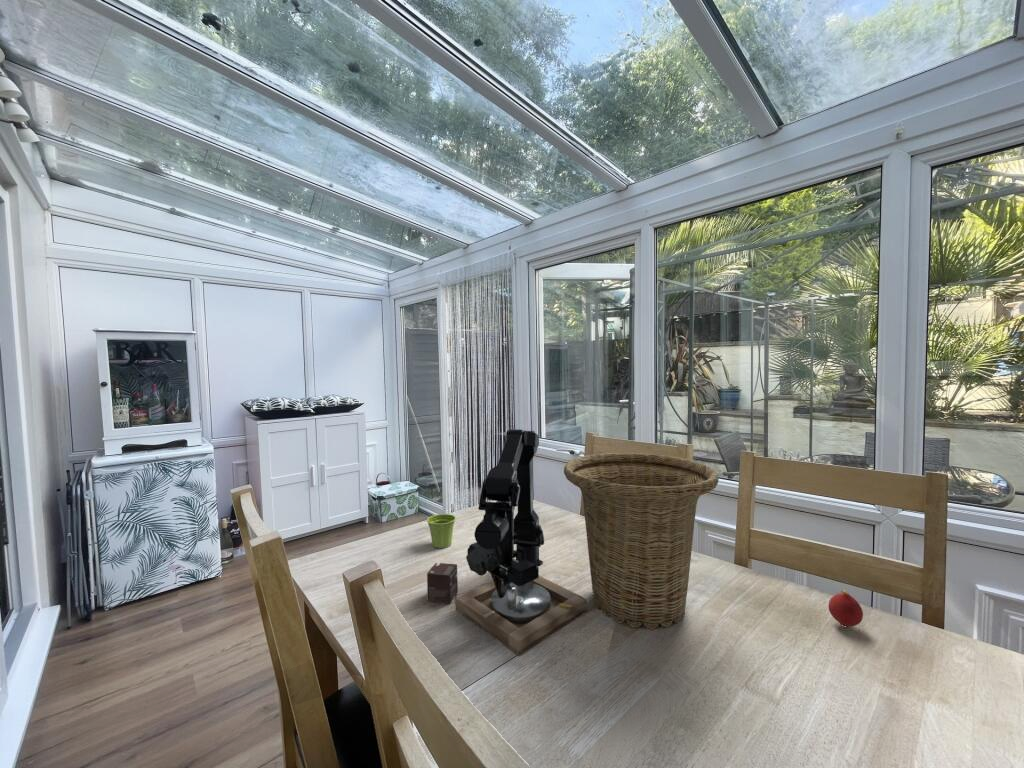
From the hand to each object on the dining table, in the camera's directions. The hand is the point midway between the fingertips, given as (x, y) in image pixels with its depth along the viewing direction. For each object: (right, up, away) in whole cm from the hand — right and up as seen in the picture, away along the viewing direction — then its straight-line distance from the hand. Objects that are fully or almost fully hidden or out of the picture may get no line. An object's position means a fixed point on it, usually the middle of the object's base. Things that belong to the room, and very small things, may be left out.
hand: (501, 597), depth 95 cm
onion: (+75, -4, -4) cm, 75 cm away
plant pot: (-21, -4, +42) cm, 46 cm away
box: (-15, -5, +10) cm, 19 cm away
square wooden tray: (+4, -5, +3) cm, 8 cm away
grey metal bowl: (+4, -4, +3) cm, 7 cm away
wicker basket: (+33, -5, +6) cm, 34 cm away
